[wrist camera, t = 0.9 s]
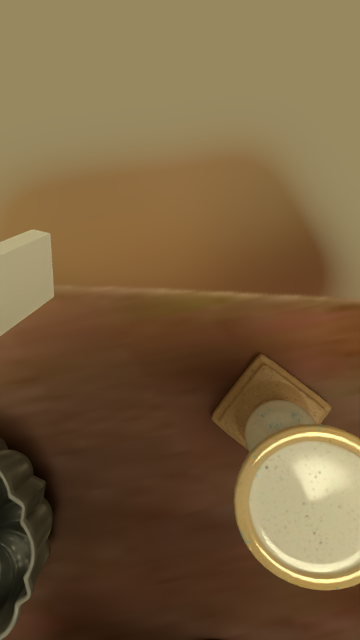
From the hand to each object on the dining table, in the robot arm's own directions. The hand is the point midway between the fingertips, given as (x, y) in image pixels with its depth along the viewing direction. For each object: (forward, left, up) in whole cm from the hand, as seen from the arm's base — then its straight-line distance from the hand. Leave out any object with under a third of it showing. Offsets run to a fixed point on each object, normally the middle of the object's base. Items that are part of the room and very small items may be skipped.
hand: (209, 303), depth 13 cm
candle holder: (-14, 0, -33) cm, 36 cm away
